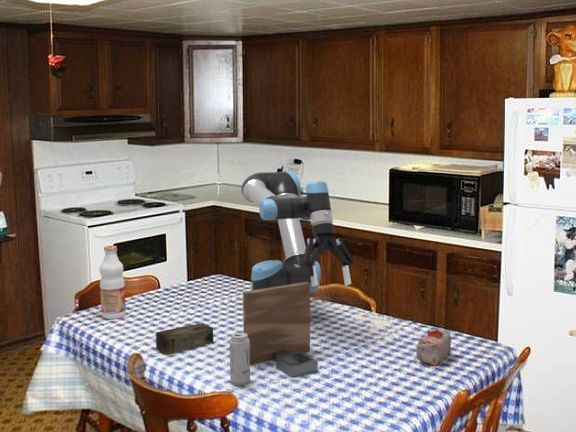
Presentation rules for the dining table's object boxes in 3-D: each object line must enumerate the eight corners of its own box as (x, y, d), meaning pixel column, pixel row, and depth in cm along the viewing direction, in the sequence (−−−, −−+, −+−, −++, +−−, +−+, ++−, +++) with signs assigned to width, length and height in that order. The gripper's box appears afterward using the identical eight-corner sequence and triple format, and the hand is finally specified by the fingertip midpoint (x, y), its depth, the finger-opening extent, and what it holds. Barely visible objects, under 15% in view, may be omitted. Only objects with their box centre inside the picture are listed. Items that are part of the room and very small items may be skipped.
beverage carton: (214, 344, 246) (214, 326, 244) (165, 356, 234) (164, 337, 233) (203, 337, 252) (202, 320, 251) (154, 349, 241) (154, 331, 239)
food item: (437, 368, 222) (438, 338, 220) (414, 363, 226) (415, 334, 225) (452, 355, 233) (453, 327, 232) (430, 350, 238) (430, 322, 236)
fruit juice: (98, 315, 278) (94, 246, 273) (120, 310, 284) (117, 243, 279) (107, 321, 271) (103, 250, 266) (129, 316, 276) (126, 247, 271)
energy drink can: (247, 387, 208) (246, 339, 206) (227, 385, 209) (226, 337, 207) (252, 379, 214) (251, 332, 211) (233, 377, 215) (232, 331, 213)
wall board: (244, 363, 227) (243, 291, 223) (306, 349, 239) (306, 281, 235) (247, 365, 225) (245, 293, 221) (309, 351, 237) (309, 282, 233)
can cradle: (266, 361, 229) (266, 351, 228) (291, 355, 233) (291, 345, 233) (291, 377, 215) (291, 366, 215) (317, 371, 220) (317, 360, 219)
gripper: (297, 221, 232) (306, 283, 226) (357, 222, 245) (367, 281, 239) (286, 227, 238) (294, 288, 232) (345, 228, 251) (355, 286, 245)
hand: (331, 285), depth 236 cm, fingers open, 13 cm apart
